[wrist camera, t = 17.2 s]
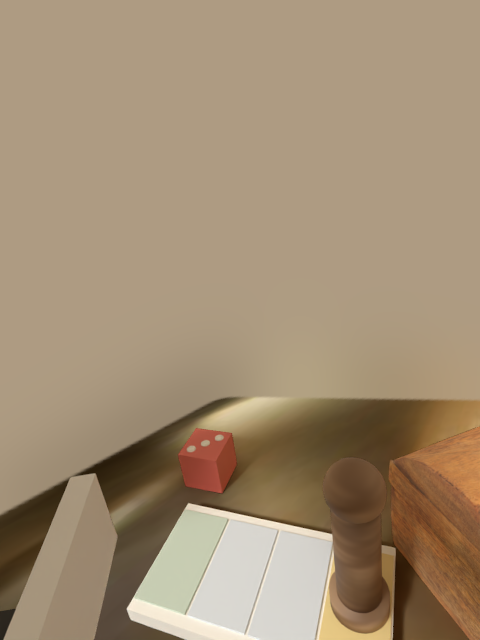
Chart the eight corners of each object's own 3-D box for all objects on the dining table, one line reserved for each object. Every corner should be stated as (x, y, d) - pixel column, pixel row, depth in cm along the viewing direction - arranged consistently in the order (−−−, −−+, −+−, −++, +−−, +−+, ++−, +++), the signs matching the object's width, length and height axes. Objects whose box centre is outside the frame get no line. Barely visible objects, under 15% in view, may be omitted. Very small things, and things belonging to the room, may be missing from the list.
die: (185, 486, 51) (177, 454, 49) (202, 458, 55) (196, 427, 53) (222, 493, 49) (215, 460, 47) (237, 464, 54) (231, 432, 52)
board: (130, 619, 37) (126, 607, 37) (190, 512, 47) (187, 501, 47) (390, 712, 29) (390, 698, 28) (395, 558, 39) (395, 546, 38)
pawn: (325, 624, 33) (312, 486, 27) (334, 568, 37) (323, 439, 32) (389, 641, 31) (389, 498, 26) (390, 581, 36) (390, 446, 30)
